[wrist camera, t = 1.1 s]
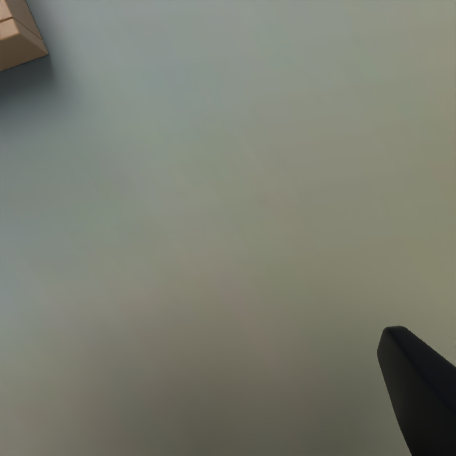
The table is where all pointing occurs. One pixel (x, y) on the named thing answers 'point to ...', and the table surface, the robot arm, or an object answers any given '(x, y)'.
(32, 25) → the box
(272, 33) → the table surface
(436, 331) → the table surface
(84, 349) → the table surface
